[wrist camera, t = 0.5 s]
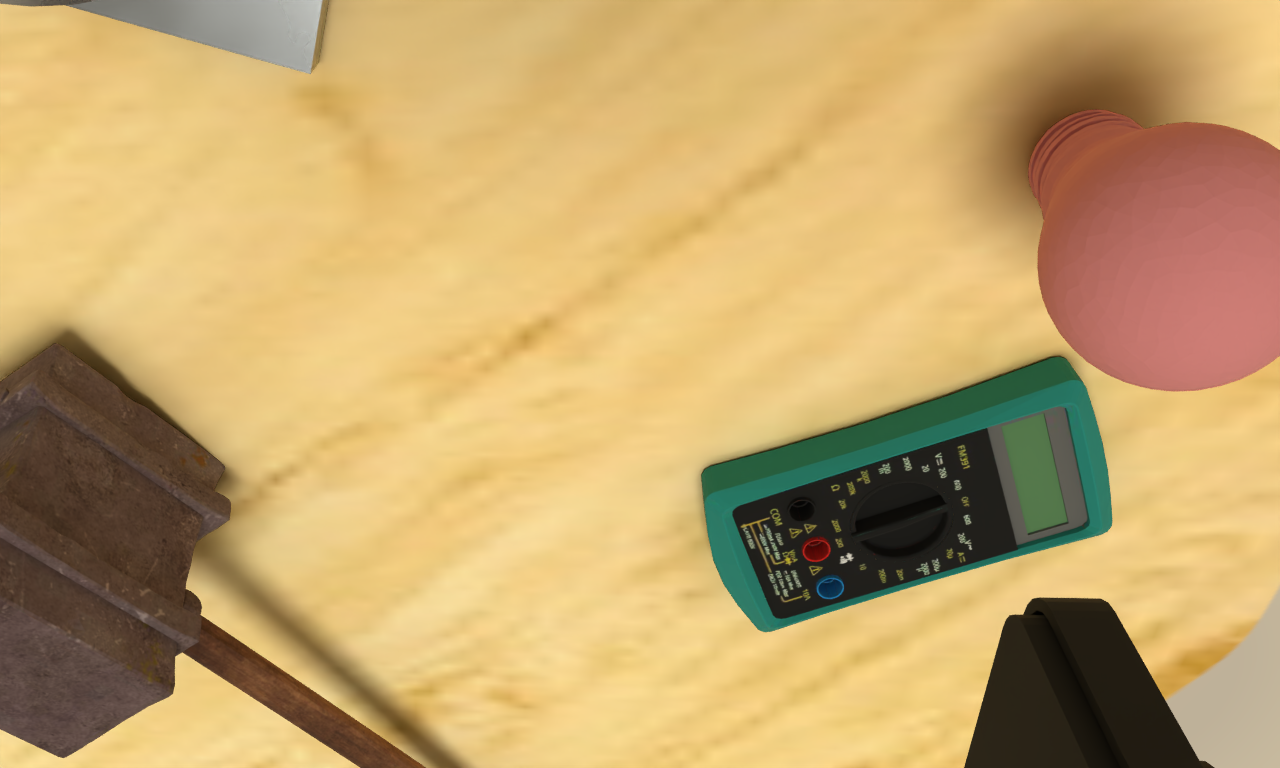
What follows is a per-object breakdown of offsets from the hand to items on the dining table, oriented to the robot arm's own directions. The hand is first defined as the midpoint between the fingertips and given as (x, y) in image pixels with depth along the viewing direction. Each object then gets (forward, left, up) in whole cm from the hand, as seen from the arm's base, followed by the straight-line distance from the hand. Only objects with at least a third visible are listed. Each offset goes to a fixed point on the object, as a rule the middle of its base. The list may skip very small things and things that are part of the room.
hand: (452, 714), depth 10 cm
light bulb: (0, +18, -30) cm, 35 cm away
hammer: (+29, -2, -30) cm, 41 cm away
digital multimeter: (+14, +18, -30) cm, 38 cm away
